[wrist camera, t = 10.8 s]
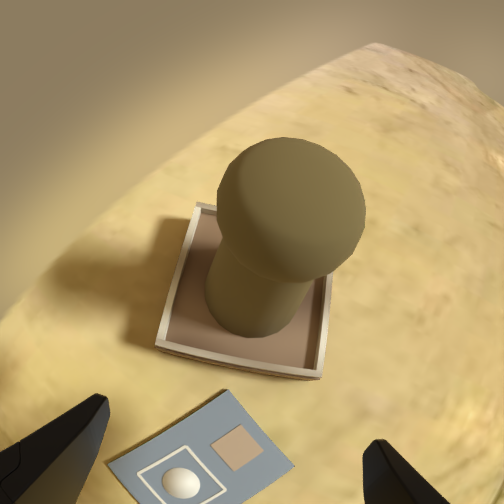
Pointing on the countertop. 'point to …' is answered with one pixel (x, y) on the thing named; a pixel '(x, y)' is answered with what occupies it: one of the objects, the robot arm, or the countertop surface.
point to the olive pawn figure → (280, 232)
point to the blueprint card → (204, 459)
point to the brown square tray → (221, 340)
